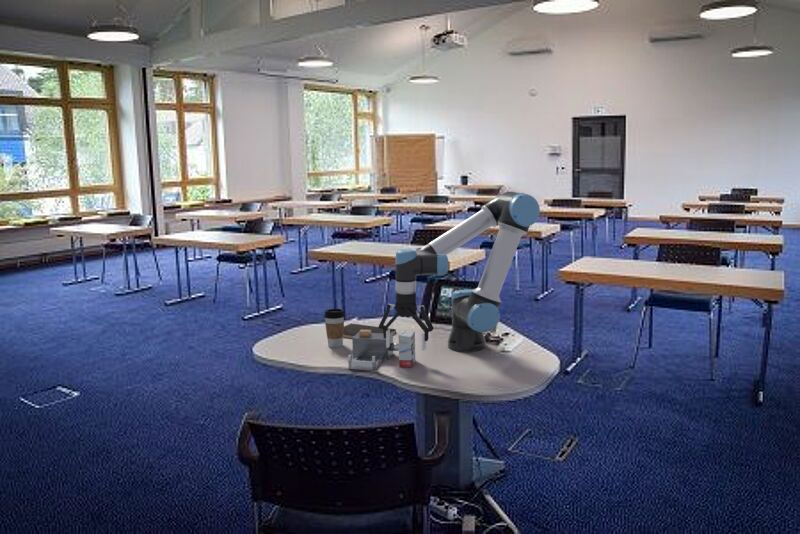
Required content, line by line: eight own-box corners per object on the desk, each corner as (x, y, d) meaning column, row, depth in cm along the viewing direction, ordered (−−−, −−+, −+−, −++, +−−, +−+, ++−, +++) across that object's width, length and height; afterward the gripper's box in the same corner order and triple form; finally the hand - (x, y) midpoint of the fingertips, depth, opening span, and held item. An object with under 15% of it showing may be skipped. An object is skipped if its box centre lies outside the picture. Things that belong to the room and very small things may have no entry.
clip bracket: (383, 359, 253) (382, 347, 253) (375, 370, 242) (374, 357, 241) (358, 358, 256) (357, 345, 255) (348, 368, 244) (348, 355, 243)
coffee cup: (321, 347, 271) (319, 311, 268) (331, 341, 279) (329, 306, 276) (340, 349, 268) (338, 313, 265) (349, 343, 275) (348, 308, 273)
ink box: (411, 367, 244) (411, 336, 242) (398, 367, 245) (397, 336, 243) (415, 360, 252) (415, 330, 250) (403, 359, 253) (402, 329, 251)
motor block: (403, 354, 260) (402, 329, 258) (398, 360, 252) (398, 335, 250) (358, 352, 264) (358, 327, 262) (353, 358, 256) (352, 333, 254)
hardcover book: (377, 343, 277) (376, 338, 276) (331, 336, 288) (331, 331, 287) (396, 333, 290) (396, 328, 290) (351, 327, 301) (351, 323, 301)
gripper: (441, 291, 244) (440, 347, 248) (375, 288, 250) (375, 343, 254) (437, 295, 237) (437, 353, 241) (370, 292, 243) (370, 348, 246)
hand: (405, 348), depth 247 cm, fingers open, 13 cm apart
